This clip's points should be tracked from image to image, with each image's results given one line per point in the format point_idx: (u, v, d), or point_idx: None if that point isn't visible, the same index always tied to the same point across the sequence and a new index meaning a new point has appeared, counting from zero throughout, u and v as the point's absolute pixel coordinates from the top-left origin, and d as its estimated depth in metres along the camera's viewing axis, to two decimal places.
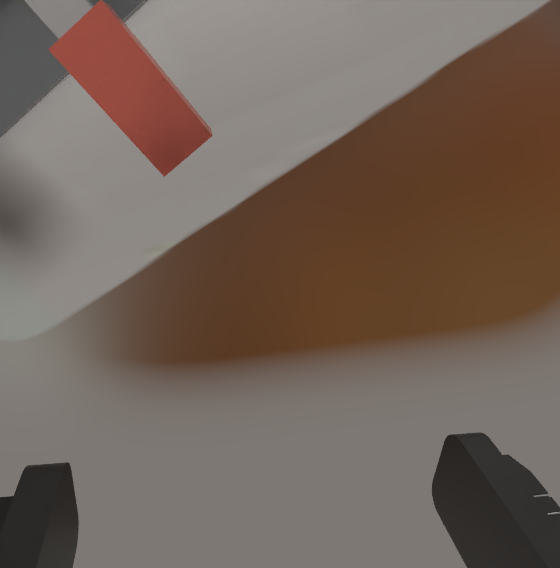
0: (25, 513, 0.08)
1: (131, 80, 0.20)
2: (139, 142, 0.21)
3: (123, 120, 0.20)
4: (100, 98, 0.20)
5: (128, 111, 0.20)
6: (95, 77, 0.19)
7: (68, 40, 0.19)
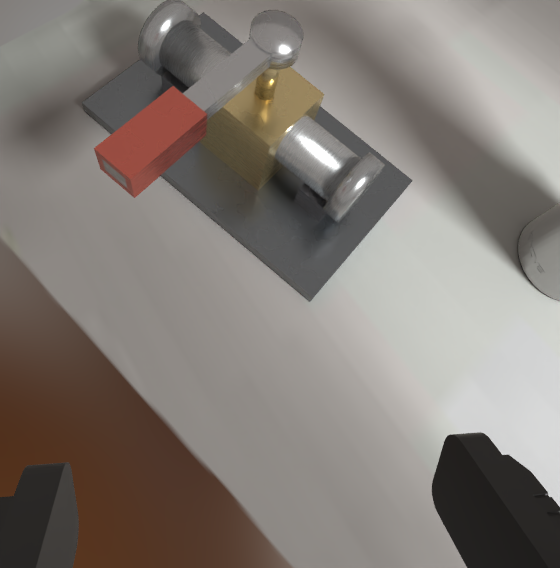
0: (25, 513, 0.08)
1: (161, 128, 0.29)
2: (119, 132, 0.28)
3: (133, 123, 0.29)
4: (147, 110, 0.29)
5: (140, 126, 0.29)
6: (160, 108, 0.29)
7: (180, 96, 0.30)
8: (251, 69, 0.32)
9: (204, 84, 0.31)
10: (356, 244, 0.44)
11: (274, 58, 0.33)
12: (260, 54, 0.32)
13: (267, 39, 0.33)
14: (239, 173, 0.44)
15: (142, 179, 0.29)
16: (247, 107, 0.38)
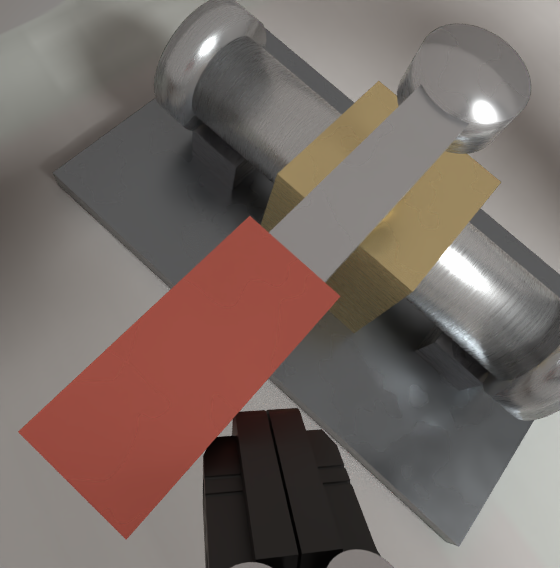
0: (254, 445, 0.10)
1: (221, 349, 0.10)
2: (98, 370, 0.10)
3: (143, 336, 0.10)
4: (181, 294, 0.10)
5: (162, 345, 0.10)
6: (217, 286, 0.11)
7: (269, 246, 0.11)
8: (427, 163, 0.13)
9: (323, 206, 0.12)
10: (523, 432, 0.25)
11: (469, 132, 0.14)
12: (443, 125, 0.14)
13: (457, 91, 0.14)
14: None
15: None
16: None
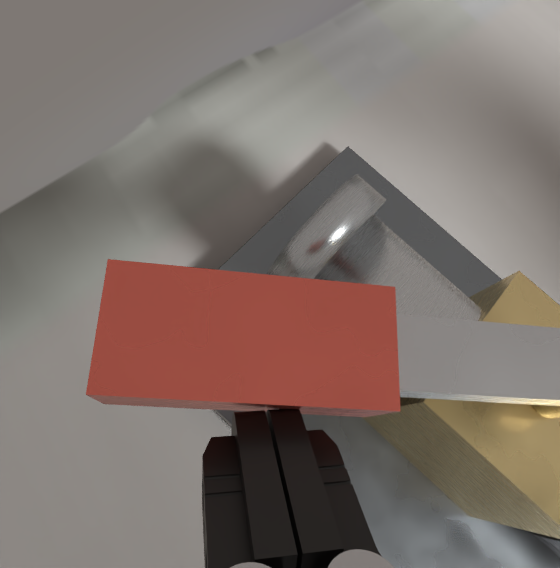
0: (253, 445, 0.10)
1: (276, 350, 0.10)
2: (189, 276, 0.10)
3: (238, 285, 0.11)
4: (291, 286, 0.11)
5: (242, 304, 0.10)
6: (320, 307, 0.11)
7: (386, 320, 0.11)
8: None
9: (459, 338, 0.12)
10: None
11: None
12: None
13: None
14: (435, 483, 0.23)
15: (134, 401, 0.10)
16: (520, 441, 0.17)
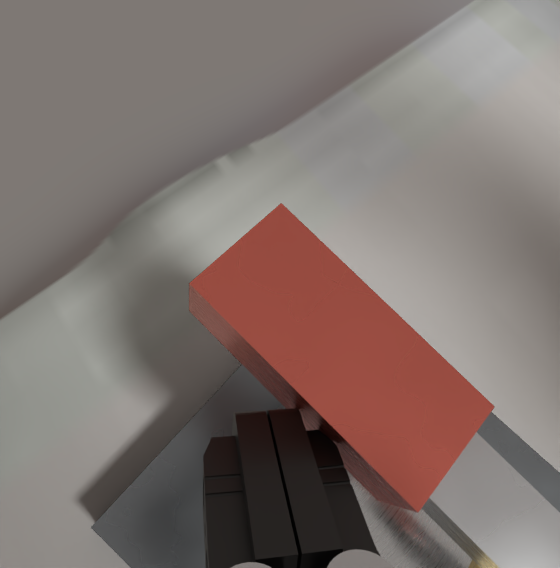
0: (253, 445, 0.10)
1: (352, 371, 0.10)
2: (330, 261, 0.11)
3: (361, 298, 0.11)
4: (404, 333, 0.11)
5: (354, 315, 0.10)
6: (415, 369, 0.10)
7: (464, 427, 0.10)
8: None
9: (519, 503, 0.10)
10: None
11: None
12: None
13: None
14: None
15: (214, 322, 0.11)
16: None
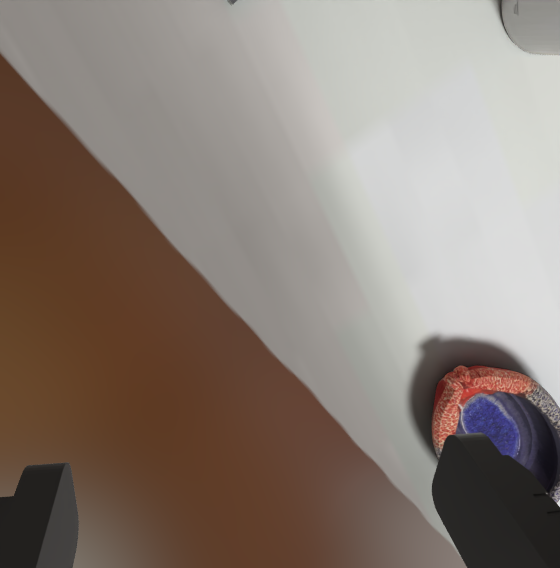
0: (25, 513, 0.08)
1: None
2: None
3: None
4: None
5: None
6: None
7: None
8: None
9: None
10: None
11: None
12: None
13: None
14: None
15: None
16: None
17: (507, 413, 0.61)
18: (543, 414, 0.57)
